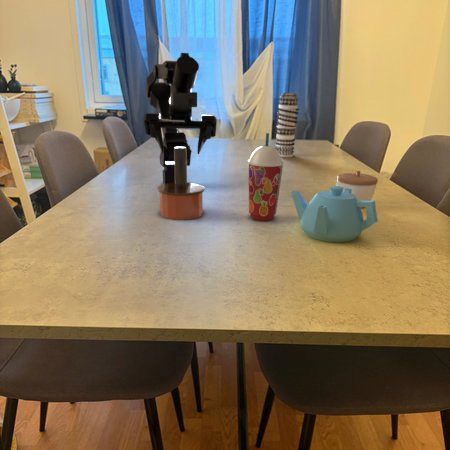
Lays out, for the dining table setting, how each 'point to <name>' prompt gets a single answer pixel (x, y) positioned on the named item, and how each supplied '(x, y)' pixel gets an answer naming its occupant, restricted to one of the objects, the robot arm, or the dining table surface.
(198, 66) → the robot arm
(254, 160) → the smoothie
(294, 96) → the white patterned cylinder
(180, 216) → the crock
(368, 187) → the trinket box
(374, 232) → the dining table surface
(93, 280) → the dining table surface
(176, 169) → the brown disc with post
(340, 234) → the teapot
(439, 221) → the dining table surface
